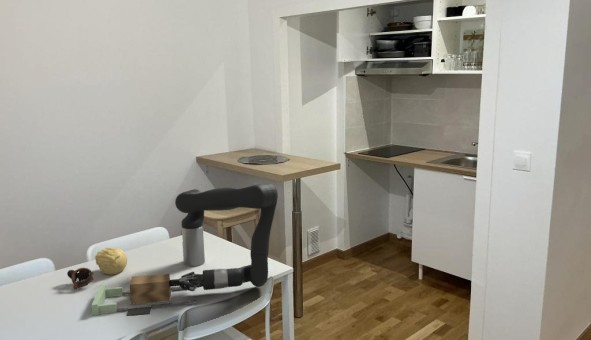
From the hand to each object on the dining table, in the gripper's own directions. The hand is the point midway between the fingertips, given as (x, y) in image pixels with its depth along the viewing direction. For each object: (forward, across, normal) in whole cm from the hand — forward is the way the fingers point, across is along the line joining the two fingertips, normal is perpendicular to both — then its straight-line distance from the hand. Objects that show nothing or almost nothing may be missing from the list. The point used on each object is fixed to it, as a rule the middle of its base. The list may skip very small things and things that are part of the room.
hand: (169, 283), depth 183 cm
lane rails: (+4, 0, +6) cm, 7 cm away
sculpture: (+26, -31, +6) cm, 40 cm away
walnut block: (+7, -1, +6) cm, 9 cm away
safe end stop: (+22, 0, +6) cm, 23 cm away
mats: (+10, 0, +6) cm, 12 cm away
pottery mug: (+36, -20, +6) cm, 42 cm away
